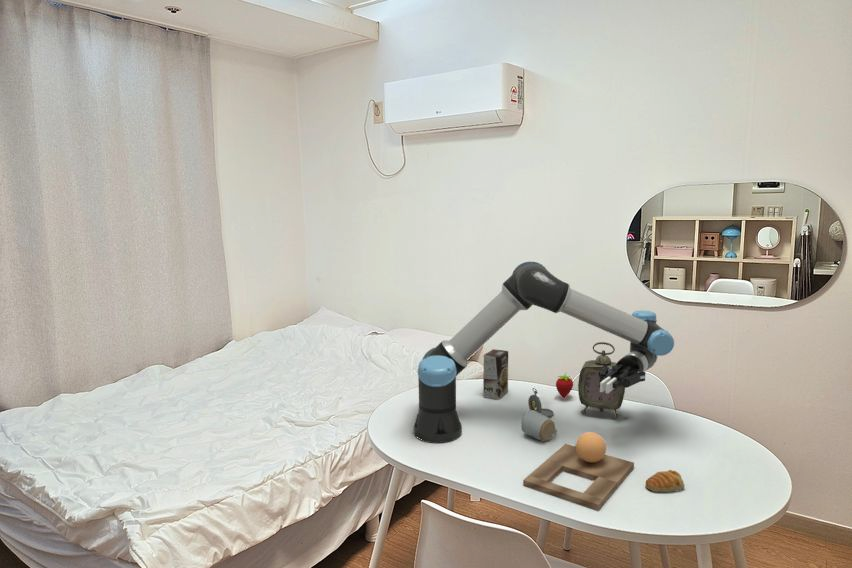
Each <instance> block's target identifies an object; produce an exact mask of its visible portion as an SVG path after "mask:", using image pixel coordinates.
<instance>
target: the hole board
mask: <svg viewBox="0 0 852 568" xmlns="http://www.w3.org/2000/svg"><path fill="white" fill-rule="evenodd" d="M634 468H635V462H633V461H629V460H626V459H623V458H620V457H616V456H612V455H609V454H605V455H604V457H603V458H602V459H601V460H600V461H598V462H594V463H591V462H586V461H584V460H583V459H581V458H580V456H579V455H578V453H577V451H576V445H572V444H569V443H564V444H563V445H562V446H561V447H560V448H558V449H557V450H556V451H555V452H554V453H553V454H552V455H550V456H549V457H548V458H547V459H546V460H545V461H544V462H542V463H541V464H540V465H539V466H538V467H536V468H535V469H534V470H533V471H532V472H531V473H529V474H528V475H527V476H526V477H525V478H524V479H523V481H522V482H523V483H522V486H524V487H527V488H530V489H532V490H536V491H539V492H542V493H544V494H548V495H551V496H554V497H555V498H559V499H562V500H566V501H568V502H571V503H574V504H576V505H577V504H578V505H580V506H582V507H586V508H589V509H592V510H595V511H599V510H600V509H602V507H603V506H604V505H605V503H606V502H607V501H608V500H609V498H610V497H611V496H612V495H613V494H614V492H615V491H616V490H617V489H618V487H619V486H620V485H621V484H622V483H623V482H624V481H625V479H626V478H627V476H629V474H630V473H631V471H632V470H634ZM562 472H565V473H567V474H572V475H575V476H578V477H581V478H584V479H587V480H591V481H593V482H592V483H591V484H590V485H589V486H588V487H587V488H586V489H585V490H584V492H581V491H578V490H575V489H572V488H569V487H566V486H563V485H560V484H557V483H553V480H555V479H556V478H557V477H558V476H559V475H560V474H561V473H562Z"/></svg>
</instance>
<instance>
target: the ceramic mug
mask: <svg viewBox="0 0 852 568" xmlns="http://www.w3.org/2000/svg"><path fill="white" fill-rule="evenodd" d="M521 419H522V420H521V425H520V427H521V431H522V432H523V434H525V435H527V436H530V437H532V438H535V439H537V440H539V441H541V442H548V441H550V440H551V438H552V437H554V435H557V432H558V429H557V428H556V423H555V421H554V420H553V419H551V417H546V416H544V415H542V414H540V413H538V412H537V411H534V410H530V409H529V410H528V411H526V413H525V414H524V415H523V417H522V418H521Z"/></svg>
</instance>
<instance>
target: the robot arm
mask: <svg viewBox="0 0 852 568" xmlns="http://www.w3.org/2000/svg"><path fill="white" fill-rule="evenodd" d="M532 306H536V307H538V308H541V309H544V310H547V311H549V312H551V313H554V314H558V313H562V314H565V315H567V316H570V317H573V318H574V319H577V320H579V321H581V322H584V323H586V324H588V325H590V326H593V327H595V328H598V329H599V330H600V329H601V330H602V331H604V332H607V333H609V334H612V335H614V336H616V337H619V338H621V339H624V340H626V341H628V342H630V343H629V352H628V353H627V354H625V355H624V356H623V357H622V358H620V359H619V360H618V361H617V362H616V363H617V364H616V365H614V366H612V368H610V367H609V366H607V365H603V370H602V372H601V373H600V392H603V391H605V390H606V393H609V392H611V391H612V390H613V389H614V388H615V389H617V388H618V387H621V386H624V387H625V389H626V388H630V387H631V386H635V385H637V384H638V383H640V382H645V381H646V372H647V371H648V370H649V369H651V368H652V367H653V366H655V364H656V363H657V360H658V356H661V357H663V356H666V355H668V354H670V353H671V352H672V351H673V350H674V346H675V340H674V337H673V336H672V334H671V332H669V331H668V330H667V329H666V330H665V329H664V328H662V327H661V326H659V325H658V323H657V321H658V320H657V314H656V312H654V311H650V310H635V311H633V312H632V313H631V314H630V313H627V312H625V311H623V310H621V309H618V308H616V307H613V306H611V305H609V304H607V303H605V302H602V301H600V300H598V299H596V298H593V297H590V296H588V295H586V294H584V293H582V292H580V291H577V290H574V289H573V288H571V286H570V284H569V283H567V282H565V281H563V280H561V279H559V278H558V277H556V276H555V275H554V274H553V273H551V272H550V271H549V270H548V269H547V268H546V266H544V265H543V264H541V263H540V262H537V261H530V260H529V261H523V262H522V263H520V264H518V265H517V266H516V267H515V268H514V270H513V272H512V274H511V275H510V276H509V277H508V278H507V279H506V280H505V281H504V282H503V283H502V284H501V291H500V292H499V293H498V294H497V295H496V296H495V297H494V298H493V299H492V300H491V301H490V302H489V303H488V304H486V305H485V307H483V308H482V309H481V310H480V311H479V312H478V313H476V315H474V317H473V318H471V319H470V321H469V322H467V324H465V325H464V326H463V327H462V328H461V329H460V330H459V331H458V332H457V333H456V334H455V335H454V336H453V337H452V338H451V339H450V340H444V339H443V340H441V342H440V343H439V344H437V345H436V346H434V347H432V348H431V349H429V350H428V351H427V352H426V353H425V354H424V355H423V357H422V359H421V361H419V363H418V366H417V367H418V369H417V377H418V412H417V415H416V416H415V417H416V418H415V420H414V424H413V435H414V434H415V435H414V436H415V437H416V438H417V437H418V438H420V439H422V440H421V441H423V440H424V442H426V441H428V442H427V443H433V442H437V444H440V443H442V444H443V443H449V442H452V441H455V440H458V439H459V438H460V437H461V436H462V433H463V431H462V430H463V428H462V427H463V426H462V423H461V420H460V416H459V414H458V412H457V411H458V410H457V377H458V375H460V373H461V372H463V371H464V369H466V368H467V366H468V359H469V358H471V357H472V356H473V355H474V354H475V353H476V352H477V351H478V350H479V349H480V348H482V346H484V344H486V343H487V342H488V341H489V340H490V339H491V338H492V337H493V336H494V335H495V334H497V332H498V331H500V329H502V328H503V327H504V326H505V325H506V324H507V323H508V322H509V321H510V320H511V319H513V317H515V316H516V315H517V314H518V313H519V312H520V311H528V310H529V309H531V308H532ZM611 371H612V372H611ZM609 372H610V373H609ZM418 438H417V439H418ZM420 439H419V440H420Z"/></svg>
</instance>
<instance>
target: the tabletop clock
mask: <svg viewBox="0 0 852 568" xmlns="http://www.w3.org/2000/svg"><path fill="white" fill-rule="evenodd" d="M598 345H606V346H610V347H611V348H612V351H611V352H610V351H609V352H606V350H603V349H602V351H597V350H596V349H595V347H596V346H598ZM614 346H615V345H613V344H612V343H609V342H604V341H600V342H595V344H593V346H592V350H593V352H594V353H596V354H597V355H598V356H596V358H595V360H594V359H593V360H587V361H584V364H583V365H582V368H581V370H580V372H579V376H578V383H577V384H578V385H577V387H578V389H577V391H578V399H579V402H580V404H581V405H583V406H585V407H584V409H582V410H580V411H581V412H580V413H581V414H582V415H586V414H587V410H588V408H593V409H597V410H599V411H600V412H601V413H604V411H605V410H608V411H610V410H612V411H613V412H614V418H615V419H616V420H618V419H620V414H618V413H617V410H619V409H620V408H621V407H622V404H623V401H624V398H625V393H626V388H625V387H624V386H621V387H618V388H617V389H615V388H614V389H613V390H612V391H611V392H609V393H606V390H605V391H603V392H600V373H601V372H602V370H603V365H607V366H609V367H610V368H612V366H614V365H616V364H617V362H614V361H612V360H611V358H610V357H609V356H610V355H612V354H614V353H615V350H616V348H615V347H614ZM611 372H612V371H611ZM609 373H610V372H609Z"/></svg>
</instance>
